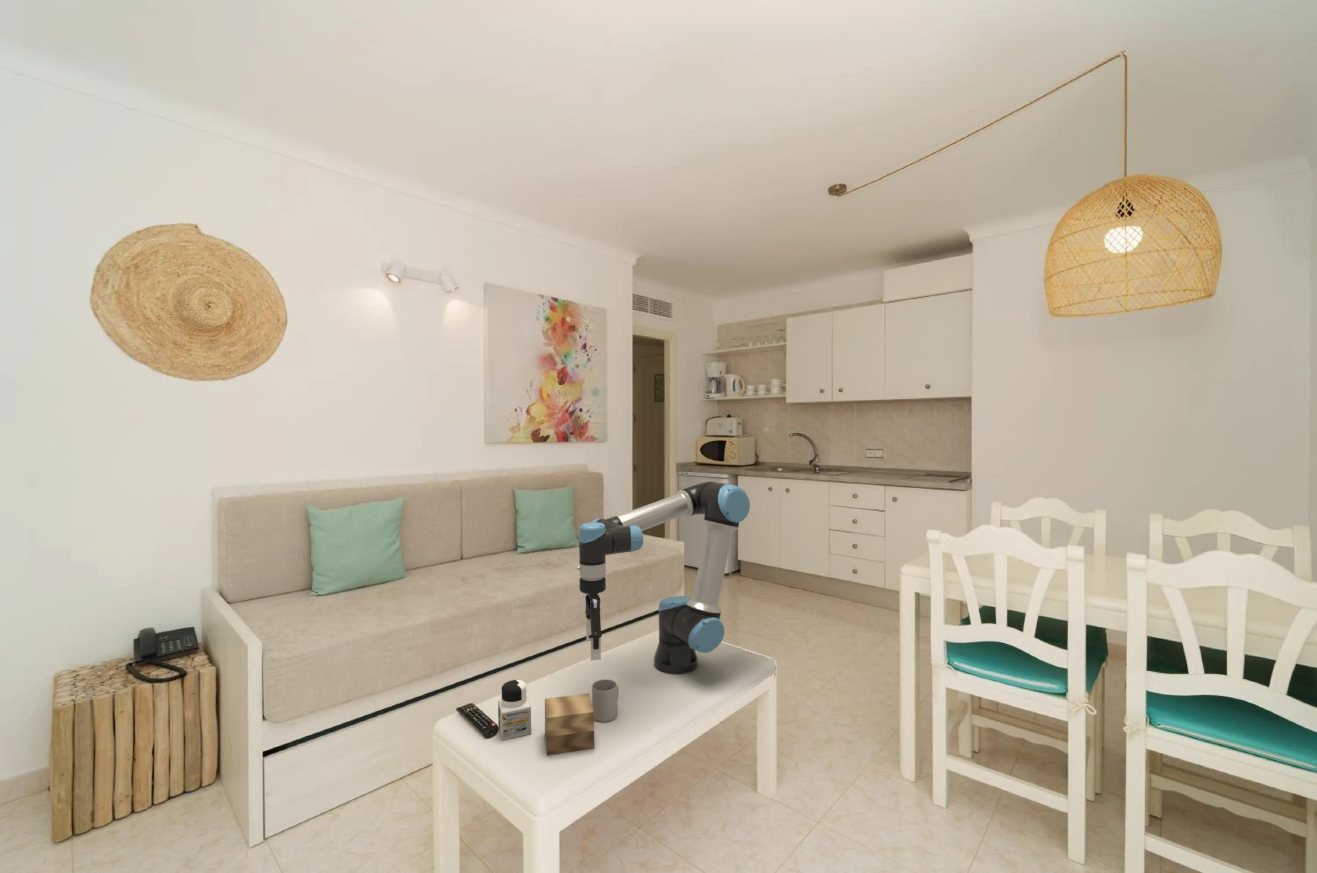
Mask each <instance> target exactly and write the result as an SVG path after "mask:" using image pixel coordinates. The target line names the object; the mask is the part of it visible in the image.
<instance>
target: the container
mask: <svg viewBox="0 0 1317 873" xmlns="http://www.w3.org/2000/svg"><path fill="white" fill-rule="evenodd" d="M498 725H499V726H498ZM497 726H498V730H499V734H500V738H501V740H503V741H505V740H509V739H514V738H517V737H524V736H528V735H531V733H532V707H531V703H530V701H529V699H528V696H527V683H526V682H525V681H524V680H521V679H511V680H509V681H506V682H505V683H503V684H502V685H501V698H498V699H497Z"/></svg>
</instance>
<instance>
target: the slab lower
mask: <svg viewBox="0 0 1317 873" xmlns="http://www.w3.org/2000/svg"><path fill="white" fill-rule="evenodd" d="M544 737H545V751H546V757H547V756H554V755H562V754H567V753H569V754H570V753H574V752H581V751H587V750H594V749H595V730H594V731H590V732H583V733H576V734H568V735H561V736H554V737H547V736H546V724H545V723H544Z"/></svg>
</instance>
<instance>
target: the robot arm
mask: <svg viewBox="0 0 1317 873" xmlns="http://www.w3.org/2000/svg"><path fill="white" fill-rule="evenodd" d="M749 498H750V497H749V496H748V495H747V492H746V491H745V490H744V489H743V488H741V487H740V486H738V485H734V484H730V483H723V482H722V483H721V482H715V481H704V482H700V483H696V484H694V485H691V486H688V487H685V488H682V489H680V490H678V491H677V492H676V494H674V495H670V496H669V497H665V498H663V499H659V500H658V501H655V502H652V503H649V504H646V505H643V506H640V507H637V508H634V509H631V510H628V511H626V512H623V513H621V514H618V515H615V516H611V517H608V518H605V519H604V518H596V519H594V520H592V521H590V522H585V523H582V524H581V525H580V526H579V529H578V530H579V531H578V548H579V549H578V552H579V554H578V555H579V558H578V560H579V561H578V562H579V566H577V568H576V569H577V571H579V577H580V578H579V582H578V583H579V591H580V592H581V593H582V594H586V595H585V599H584V600H585V612H584V613H585V618H586V619H585V627H586V628H585V631H586V632H585V633H586V635H585V638H586V642H590V661H598V660H599V661H600V660H602V658H601V657H602V656H601V655H602V652H601V650H602V643H601V641H602V640H601V638H602V626H601V625H602V624H601V622H602V621H601V606H600V605H601V597H600V595H599V594H600V593H603V592H605V591H606V589H607V588H606V582H607V581H606V577H605V576H607V575H606V574H607V572H606V571H607V570H606V568H607V567H606V566H607V565H606V563H607V562H606V557H607V556H609V555H616V554H624V553H632V552H635V551H639V550H641V549H642V547H643V545H644V533H643V532H644V531H645V530H649V529H651V528H653V527H657V526H659V525H662V524H664V523H667V522H670V521H672V520H675V519H678V518H680V517H683V516H685V517H686V518H687V517H692V516H694V515H704V518H703V522H704V523H705V525H706V530H705V535H704V541H703V544H702V549H701V554H700V559H699V564H698V569H697V572H696V578H695V582H694V588H693V591H692V592H693V593H692V597H690V596H684V595H677V596H669V597H665V598H662V599H661V600H660V601H659V604H658V644H657V647H656V650H655V653H654V657H653V665H654V667H655V668H656V669H657V670H658V671H660V672H663V673H667V674H674V675H677V674H679V675H680V674H685V673H687V674H688V673H689V672H692V671H694V670H695V669H696V668H697V667H698V666H699V664H698V663H699V662H698V655H697V652H699V653H702V654H706V653H707V654H708V653H711V652H713V651H715V649H717V648H718V647H719V646H720V645H721V643H722V641H723V640H724V636H725V626H724V625H723V624H724V623H723V622H722V621H721V620H720V618H721V614H722V609H721V608H720V606H719V600H720V595H721V592H722V585H723V581H724V576H725V572H726V571H725V570H726V568H727V560H728V557H729V551H730V548H731V547H730V546H731V542H732V537H733V532H735V531H736V530H738V529H739V526H740V522H743V521H744V520H745V518H747V516H748V515H749V513H750V509H751V508H750V506H751V505H750V504H751V503H750V499H749ZM696 651H697V652H696Z"/></svg>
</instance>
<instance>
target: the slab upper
mask: <svg viewBox="0 0 1317 873" xmlns="http://www.w3.org/2000/svg"><path fill="white" fill-rule="evenodd" d="M545 724H546V736H547V737H554V736H561V735H568V734H576V733H583V732H590V731H594V732H595V720H594V710H593V706H592V697H591V696H590V693H589V692H587V693H581V694H573V695H564V696H563V695H562V696H556V697H548V698H544V725H545Z"/></svg>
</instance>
